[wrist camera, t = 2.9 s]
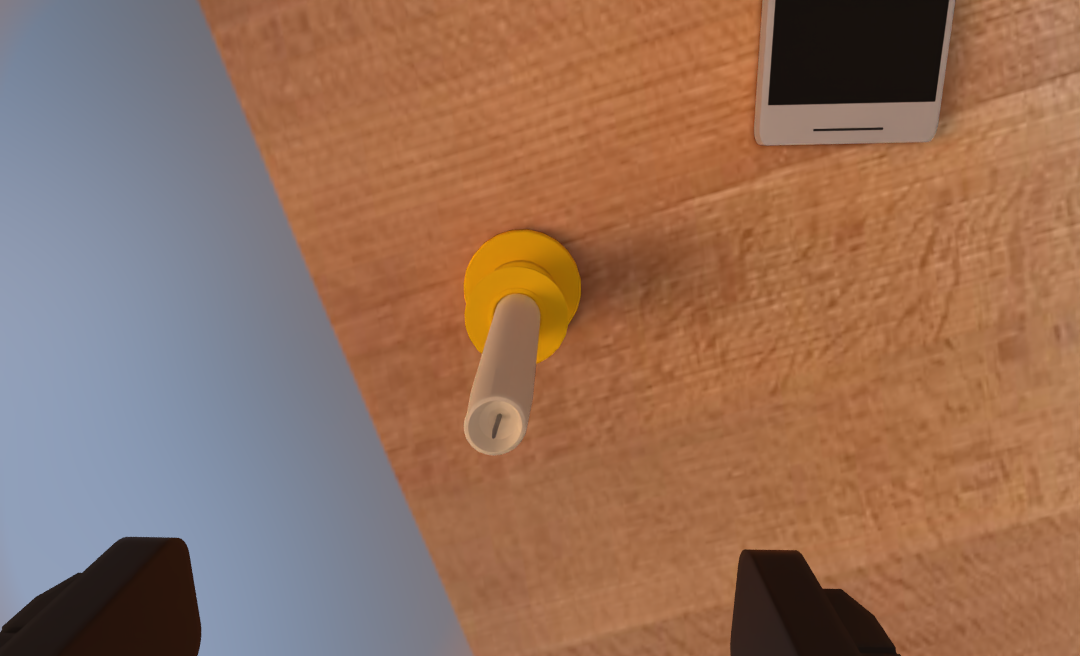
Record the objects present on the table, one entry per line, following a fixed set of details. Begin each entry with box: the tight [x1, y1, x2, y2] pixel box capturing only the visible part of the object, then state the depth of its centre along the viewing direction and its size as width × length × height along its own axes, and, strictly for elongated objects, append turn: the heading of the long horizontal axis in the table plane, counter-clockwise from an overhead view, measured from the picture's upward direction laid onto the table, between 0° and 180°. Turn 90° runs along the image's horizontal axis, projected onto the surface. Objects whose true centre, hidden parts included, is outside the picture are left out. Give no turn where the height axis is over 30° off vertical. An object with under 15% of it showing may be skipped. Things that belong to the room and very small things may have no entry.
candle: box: [464, 229, 581, 455], centre depth 22 cm, size 5×5×16 cm
